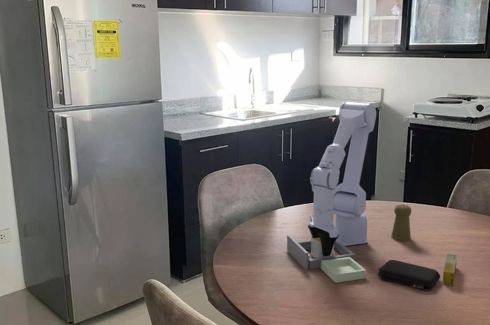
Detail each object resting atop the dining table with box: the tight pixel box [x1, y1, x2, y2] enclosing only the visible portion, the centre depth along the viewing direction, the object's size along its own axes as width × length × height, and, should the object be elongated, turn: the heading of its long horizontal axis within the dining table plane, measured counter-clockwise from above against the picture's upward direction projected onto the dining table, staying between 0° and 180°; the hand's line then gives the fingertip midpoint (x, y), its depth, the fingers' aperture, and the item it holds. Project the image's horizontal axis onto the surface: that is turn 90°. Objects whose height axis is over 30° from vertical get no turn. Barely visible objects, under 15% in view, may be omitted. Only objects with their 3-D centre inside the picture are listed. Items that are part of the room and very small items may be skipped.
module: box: [310, 238, 335, 259], centre depth 144 cm, size 5×5×5 cm
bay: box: [320, 257, 367, 284], centre depth 133 cm, size 9×9×2 cm
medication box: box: [442, 253, 457, 287], centre depth 131 cm, size 12×3×4 cm, turn 154°
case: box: [286, 234, 356, 271], centre depth 143 cm, size 15×14×5 cm
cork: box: [390, 203, 412, 242], centre depth 156 cm, size 6×6×11 cm
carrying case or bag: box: [377, 259, 441, 291], centre depth 129 cm, size 11×3×15 cm
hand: (322, 251), depth 144 cm, fingers open, 5 cm apart
